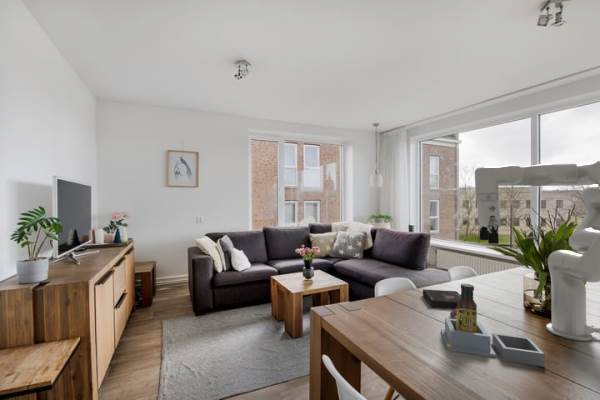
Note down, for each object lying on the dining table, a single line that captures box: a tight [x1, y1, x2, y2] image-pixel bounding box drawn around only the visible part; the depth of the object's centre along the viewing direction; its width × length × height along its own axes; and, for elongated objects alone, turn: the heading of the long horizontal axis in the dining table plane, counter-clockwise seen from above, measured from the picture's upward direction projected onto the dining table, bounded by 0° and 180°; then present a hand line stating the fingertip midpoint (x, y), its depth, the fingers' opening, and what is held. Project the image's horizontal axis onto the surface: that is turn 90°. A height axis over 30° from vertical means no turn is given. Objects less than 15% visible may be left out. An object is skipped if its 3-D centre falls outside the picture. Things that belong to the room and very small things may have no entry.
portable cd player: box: [422, 288, 461, 310], centre depth 138 cm, size 16×17×4 cm
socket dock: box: [440, 317, 497, 358], centre depth 98 cm, size 14×14×6 cm
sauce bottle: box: [455, 283, 478, 333], centre depth 98 cm, size 6×6×20 cm
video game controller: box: [449, 308, 457, 318], centre depth 116 cm, size 10×5×7 cm, turn 170°
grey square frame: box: [491, 332, 546, 368], centre depth 91 cm, size 11×11×4 cm
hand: (488, 241), depth 108 cm, fingers open, 9 cm apart
